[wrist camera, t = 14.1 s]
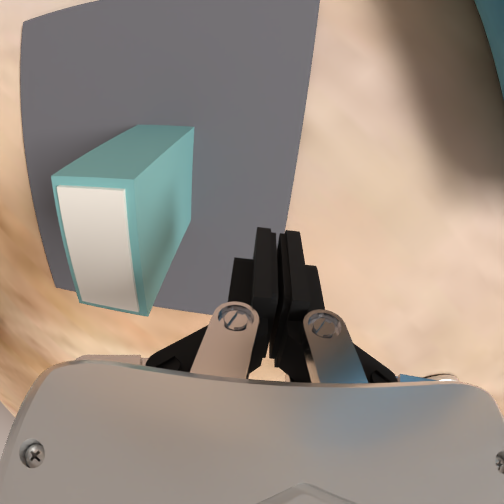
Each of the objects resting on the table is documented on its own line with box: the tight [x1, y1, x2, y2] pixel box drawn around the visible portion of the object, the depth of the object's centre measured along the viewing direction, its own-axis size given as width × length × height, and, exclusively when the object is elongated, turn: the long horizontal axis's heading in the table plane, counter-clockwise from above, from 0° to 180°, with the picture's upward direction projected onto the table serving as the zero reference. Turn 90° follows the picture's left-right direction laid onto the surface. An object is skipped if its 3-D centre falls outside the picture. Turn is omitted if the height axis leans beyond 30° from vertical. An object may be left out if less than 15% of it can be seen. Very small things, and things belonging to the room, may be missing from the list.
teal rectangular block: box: [51, 125, 194, 316], centre depth 17 cm, size 4×7×10 cm, turn 174°
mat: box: [20, 0, 320, 315], centre depth 21 cm, size 22×26×1 cm
